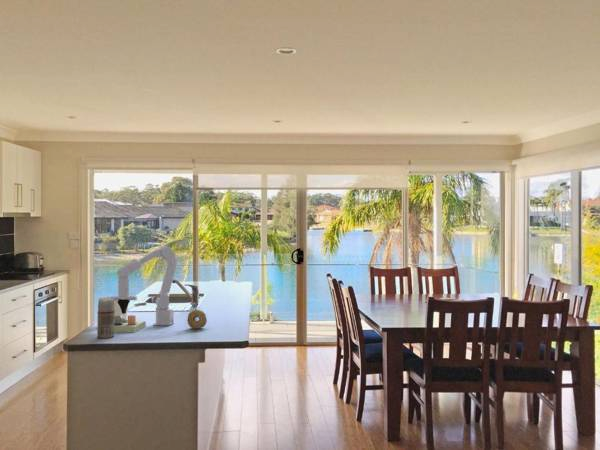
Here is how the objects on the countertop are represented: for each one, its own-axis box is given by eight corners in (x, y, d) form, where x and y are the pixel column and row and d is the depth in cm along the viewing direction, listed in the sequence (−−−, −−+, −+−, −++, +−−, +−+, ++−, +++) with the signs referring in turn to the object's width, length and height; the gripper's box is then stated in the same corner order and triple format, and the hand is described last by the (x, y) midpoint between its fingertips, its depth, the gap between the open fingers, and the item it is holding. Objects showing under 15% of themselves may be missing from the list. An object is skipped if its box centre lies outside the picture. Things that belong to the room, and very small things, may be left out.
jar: (107, 325, 304) (107, 299, 303) (109, 322, 314) (108, 296, 313) (127, 324, 306) (127, 298, 306) (128, 321, 316) (128, 295, 316)
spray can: (116, 335, 280) (116, 296, 279) (111, 338, 271) (111, 298, 271) (100, 335, 279) (99, 296, 279) (94, 338, 271) (94, 298, 271)
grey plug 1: (123, 323, 293) (123, 315, 293) (119, 325, 289) (119, 316, 289) (116, 323, 293) (115, 315, 293) (112, 325, 289) (112, 316, 289)
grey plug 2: (128, 326, 300) (128, 318, 300) (125, 327, 297) (125, 319, 296) (122, 326, 301) (121, 318, 301) (118, 327, 297) (118, 319, 297)
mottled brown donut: (186, 329, 293) (186, 310, 293) (188, 327, 297) (188, 309, 297) (205, 329, 293) (205, 310, 293) (207, 328, 296) (207, 309, 296)
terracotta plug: (136, 323, 294) (136, 315, 294) (133, 325, 290) (133, 316, 290) (129, 323, 294) (129, 315, 294) (126, 324, 290) (126, 316, 290)
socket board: (145, 326, 301) (145, 321, 301) (134, 332, 286) (134, 326, 286) (119, 326, 303) (119, 320, 303) (107, 331, 288) (107, 326, 288)
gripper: (107, 289, 295) (108, 314, 295) (133, 289, 294) (133, 314, 294) (113, 287, 302) (113, 312, 302) (138, 287, 301) (138, 312, 301)
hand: (123, 313), depth 299 cm, fingers closed
